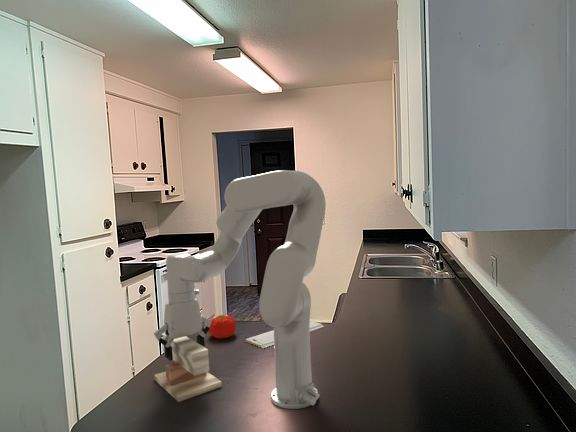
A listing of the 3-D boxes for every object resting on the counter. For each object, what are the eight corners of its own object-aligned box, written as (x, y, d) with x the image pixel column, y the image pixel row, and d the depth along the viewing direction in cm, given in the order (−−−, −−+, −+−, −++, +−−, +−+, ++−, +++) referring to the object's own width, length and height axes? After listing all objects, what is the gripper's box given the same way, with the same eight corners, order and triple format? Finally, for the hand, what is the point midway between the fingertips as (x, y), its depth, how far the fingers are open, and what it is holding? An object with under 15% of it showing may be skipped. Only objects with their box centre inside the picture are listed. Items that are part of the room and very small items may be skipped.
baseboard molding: (327, 329, 168) (306, 322, 177) (326, 322, 168) (305, 316, 177) (265, 351, 147) (245, 343, 156) (265, 343, 147) (245, 335, 156)
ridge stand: (221, 386, 121) (220, 364, 121) (178, 402, 113) (177, 378, 113) (194, 367, 135) (193, 347, 135) (154, 379, 128) (153, 358, 127)
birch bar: (209, 370, 117) (208, 349, 116) (194, 375, 114) (192, 354, 114) (177, 348, 134) (176, 330, 134) (163, 352, 132) (162, 333, 131)
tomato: (216, 330, 170) (215, 312, 169) (241, 332, 166) (240, 314, 166) (202, 340, 160) (201, 320, 159) (228, 342, 156) (227, 322, 156)
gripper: (203, 289, 131) (206, 343, 132) (147, 300, 120) (151, 358, 122) (214, 293, 125) (218, 350, 126) (157, 305, 114) (161, 367, 116)
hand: (185, 354), depth 124 cm, fingers open, 9 cm apart
